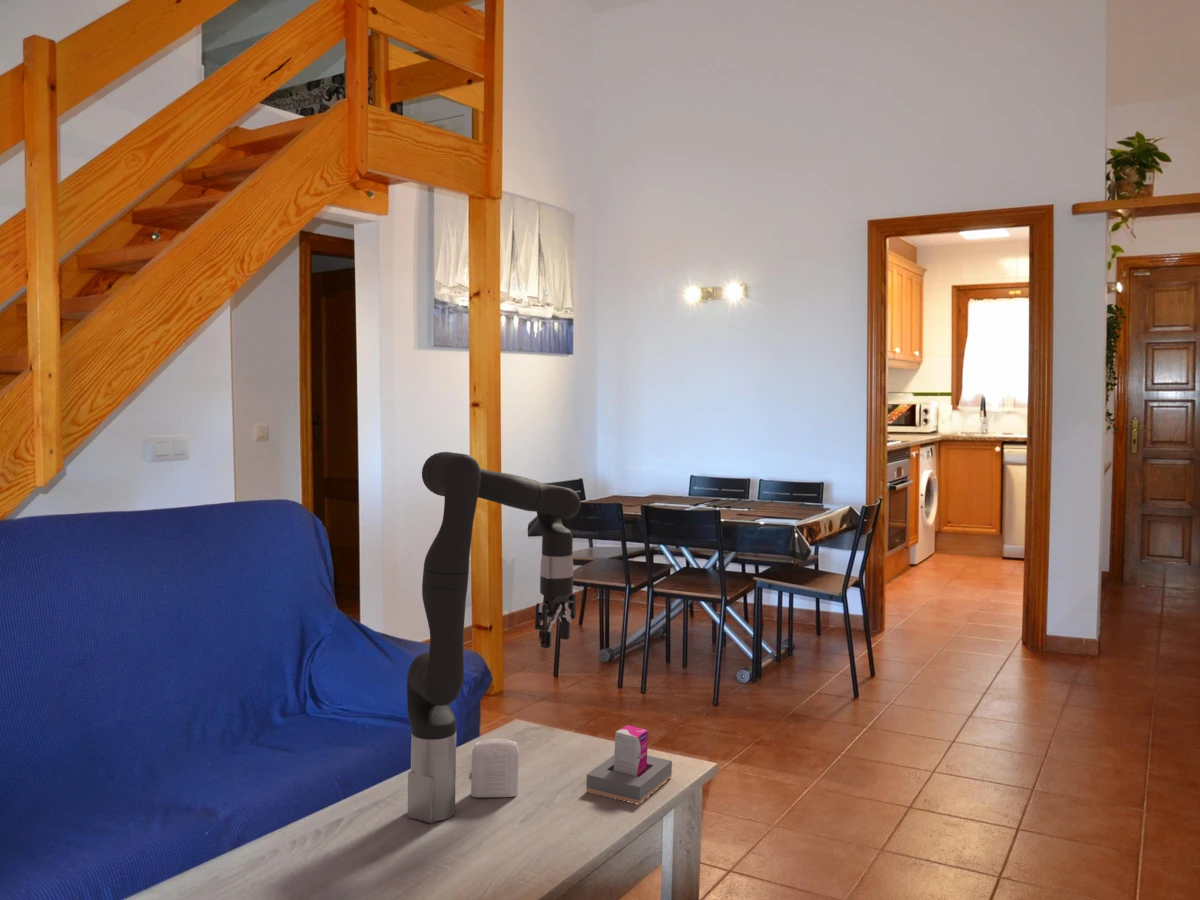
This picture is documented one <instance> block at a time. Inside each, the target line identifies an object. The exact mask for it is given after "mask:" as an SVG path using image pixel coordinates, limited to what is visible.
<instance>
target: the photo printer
mask: <svg viewBox="0 0 1200 900" xmlns="http://www.w3.org/2000/svg"><path fill="white" fill-rule="evenodd" d="M519 763H520V752H519V746H518V742H516V741H514V740H510V739H505V738H488V739H487V738H486V739H483V740H479V741H477V742H475V743H474V745H473V748H472V752H471V777H470V783H471V784H470V795H471V797H472V798H510V797H513V798H515V797H516V796H518V795H519V771H520V764H519ZM514 796H515V797H514Z"/></svg>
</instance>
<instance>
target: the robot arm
mask: <svg viewBox="0 0 1200 900" xmlns="http://www.w3.org/2000/svg"><path fill="white" fill-rule="evenodd" d="M421 469H422V470H421V478H422V479H421V480H422V482H423V484H424V486H425V488H426V489H428V491H430V492H431V493H432V494H435V495H437V496H441V497H444V502H443V503H444V506H443V513H442V514H443V515H442V520H441V521H442V522H441V525H440V527H439V530H438V532H437V534H436V536H435V538H434V540H433V541H432V543H431V545H430V547H429V549H428V551H427V553H426V555H425V559H424V563H423V570H422V571H423V572H422V583H421V594H422V596H421V597H422V601H423V607H424V610H425V614H426V615H425V616H426V621H427V623H428V624H427V625H428V630H429V650H428V651H427V652H423V653H420V654H419V655H418V656H416V657H415V658H414V659H413V660H412V662H411V664H410V665H409V668H408V671H407V678H406V696H407V697H406V699H407V717H408V720H409V722H410V731H411V734H410V737H411V738H410V739H411V741H410V771H409V772H408V773H407V818H409V817H410V818H409V819H413V818H414V819H413V820H416V819H418V820H417V821H420V820H422V821H421V822H423V821H425V822H424V823H427V822H428V823H427V824H430V823H431V824H434V823H435V822H434V821H436V822H440V820H441V821H444V819H445V820H447V819H450V818H451V817H452V815H453V816H454V814H455V813H456V788H457V787H456V786H457V785H456V782H457V781H456V780H457V779H456V778H457V777H456V776H457V771H456V769H457V720H456V719H457V718H456V716H455V714H454V712H453V711H452V708H451V706H450V704H451V703H453V702H454V701H455V700H456V699H457V698H458V697H459V694H460V693H461V691H462V688H463V685H464V678H465V677H464V676H465V673H464V671H465V668H464V667H465V666H464V665H465V664H464V630H465V629H464V627H465V615H466V601H467V594H468V593H467V592H468V587H469V586H468V583H469V573H470V555H471V545H472V537H473V536H472V535H473V526H474V518H475V516H476V515H475V513H476V509H477V505H478V498H479V499H483V500H486V501H490V502H493V503H497V504H500V505H503V506H507V507H510V508H513V509H518V510H521V511H525V512H526V511H527V512H536V516H537V520H538V521H537V522H538V524H539V529H540V533H541V539H542V540H541V557H540V558H541V560H540V573H539V574H540V575H539V577H540V578H539V583H540V585H539V593H540V594H541V595H542V596H543V597H544V601H543V603H542V602H541V603H539V602H538V603H536V604H535V618H534V620H535V621H534V622H535V623H534V629H535V630H536V631H540V646H541V648H543V649H550V648H551V646H552V643H551V642H552V628H553V625H554V624H556V622H557V619H559V621H560V623H559V638H560V640H565V641H568V640H570V633H571V629H570V628H571V627H570V625H571V623H572V620H575V619H576V617H577V616H576V594H573V592H574V591H573V590H574V560H573V559H574V557H573V546H574V545H573V541H574V537H573V532H572V531H571V530H570V529H569V528H567V527H565V525H563V521H562V520H568V519H572V518H574V517H575V516H576V515H577V514H578V513H579V512H580V509H581V507H582V506H581V505H582V503H581V501H582V500H581V498H580V496H579V494H578V493H577V492H576V491H575V490H574V489H572V488H569V487H565V486H564V487H563V486H558V485H554V484H547V483H543V482H540V481H537V480H535V479H531V478H529V477H525V476H520V475H516V474H511V473H507V472H506V473H505V472H499V471H494V470H488V469H484V468H481V467H480V464H479V463H478V460H477V459H476V458H474V457H473V456H472V455H470V454H464V453H458V452H451V451H440V452H436V453H434V454H432V455H430V456H429V457H428V458H427V459H426V460H425V462H424V464H423V466H422V468H421Z"/></svg>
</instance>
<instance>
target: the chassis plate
mask: <svg viewBox="0 0 1200 900" xmlns="http://www.w3.org/2000/svg"><path fill="white" fill-rule="evenodd" d="M672 770H673V761H672V760H670V759H665V758H661V757H657V756H653V755H652V756H651V755H648V754H647V769H646V772H645V773H643V774H642V775H641V776H640V777H635V776H630V775H626V774H622V773H618V772H614V754H613V755H612V756H611V757H609V758H608V759H606V760H605V761H604V762H602V763H601V764H599V765H598V766H596V767H595V768H593V770H591V771H590V772H588V773H587V774H586V787H585V788H586V790H585V791H586V793H588V792H591V793H590V794H592V793H594V794H593V795H596V794H597V795H598V796H600V795H602V796H601V797H604V796H607V797H606V798H608V797H611V798H610V799H612V798H616V799H620V800H625V801H630V802H633V803H638V804H640V803H641V802H642V801H643V800H645V799H646V798H647V797H648V796H649V795H650V794H651V793H652V792H654V791H655V790H656V789H657V788H658V787H660V785H662V784H663V783H664V782H665V781H667V780H668V779H669V778H670V777H672V772H673V771H672ZM668 781H669V780H668ZM668 781H667V782H668ZM660 788H661V787H660ZM654 793H655V792H654ZM648 798H649V797H648ZM648 798H647V799H648ZM616 799H615V800H616ZM647 799H646V800H647ZM620 800H619V801H620ZM646 800H645V801H646ZM641 804H642V803H641ZM641 804H640V805H641Z"/></svg>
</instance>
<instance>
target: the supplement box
mask: <svg viewBox="0 0 1200 900" xmlns="http://www.w3.org/2000/svg"><path fill="white" fill-rule="evenodd" d="M614 733H615V735H614V736H615V737H614V750H613V751H614V753H613V755H614V772H618V773H622V774H626V775H630V776H635V777H640V776H641V775H642V774H643V773H645V772H646V769H647V755H648V747H649V730H648V729H645V728H641V727H635V726H633V725H628V724H627V725H625V726H623V727H621V728H620V729H618V730H617V731H615V732H614Z"/></svg>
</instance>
